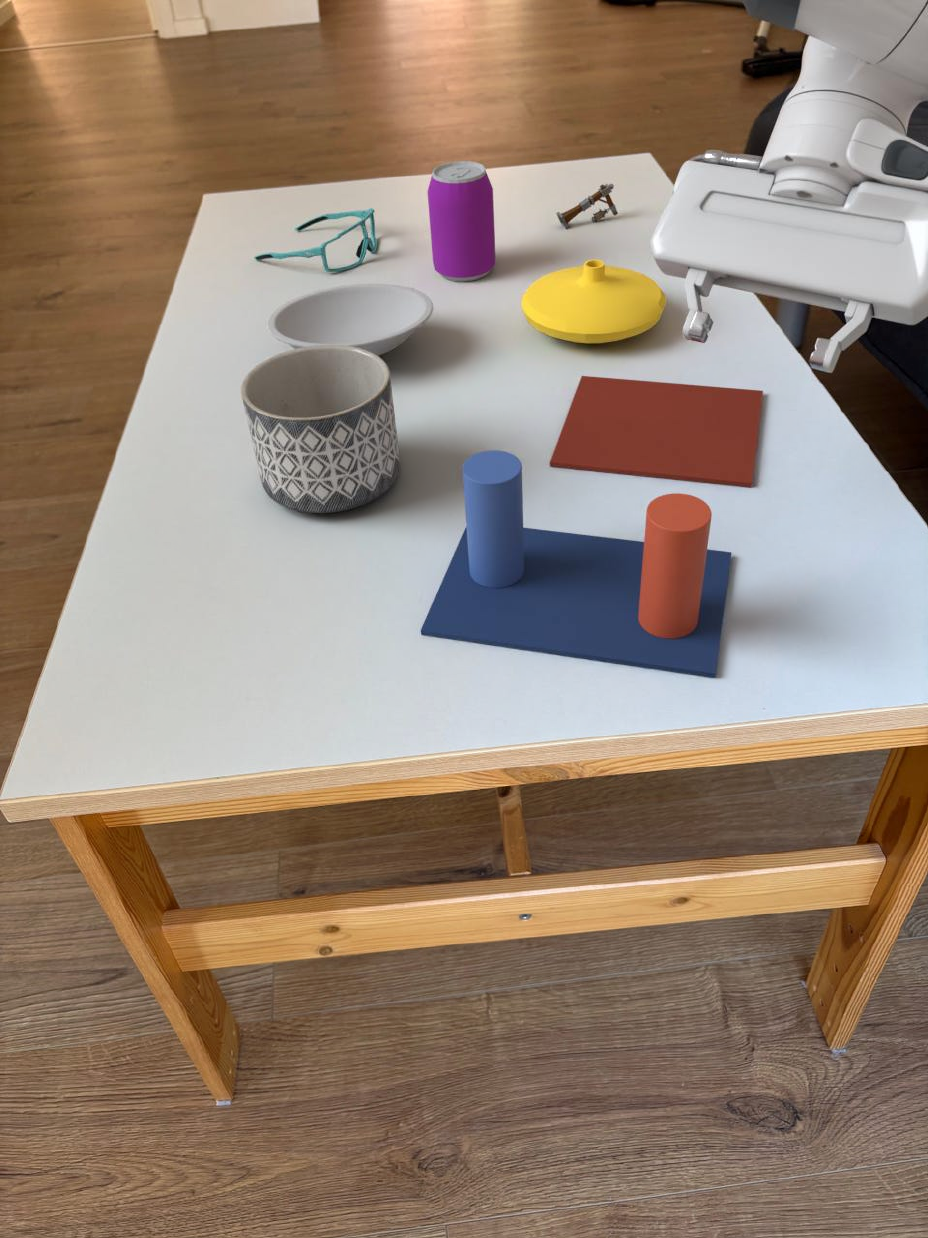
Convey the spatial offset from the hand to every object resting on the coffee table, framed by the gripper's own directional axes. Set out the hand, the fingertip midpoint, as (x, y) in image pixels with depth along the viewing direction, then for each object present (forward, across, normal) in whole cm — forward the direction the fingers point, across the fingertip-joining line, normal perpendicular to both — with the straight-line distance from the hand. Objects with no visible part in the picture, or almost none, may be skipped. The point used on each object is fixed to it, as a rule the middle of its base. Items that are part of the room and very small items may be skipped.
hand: (754, 353), depth 73 cm
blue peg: (+21, -14, +2) cm, 25 cm away
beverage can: (-12, -49, +37) cm, 62 cm away
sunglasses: (-10, -68, +34) cm, 77 cm away
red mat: (+3, -12, +21) cm, 24 cm away
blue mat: (+20, -7, +4) cm, 22 cm away
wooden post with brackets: (-26, -42, +51) cm, 71 cm away
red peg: (+20, 0, +3) cm, 20 cm away
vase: (-8, -28, +32) cm, 43 cm away
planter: (+19, -34, +6) cm, 40 cm away
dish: (+4, -47, +20) cm, 51 cm away
